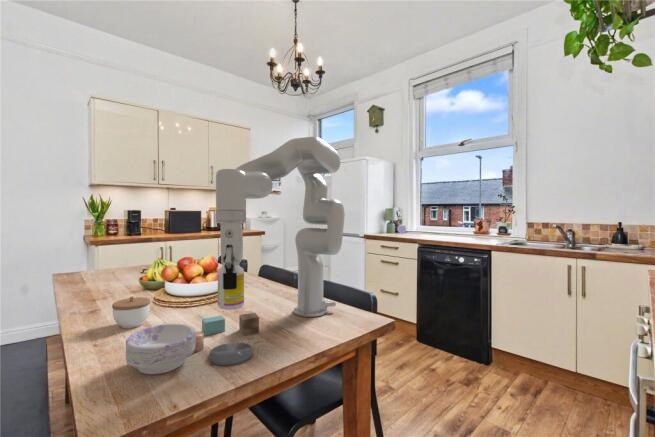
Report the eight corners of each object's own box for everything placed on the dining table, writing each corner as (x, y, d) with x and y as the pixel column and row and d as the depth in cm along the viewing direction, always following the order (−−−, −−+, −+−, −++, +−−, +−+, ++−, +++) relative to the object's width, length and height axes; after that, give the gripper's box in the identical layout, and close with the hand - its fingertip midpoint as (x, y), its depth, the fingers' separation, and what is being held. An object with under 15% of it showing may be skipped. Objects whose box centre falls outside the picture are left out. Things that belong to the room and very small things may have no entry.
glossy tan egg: (203, 344, 90) (203, 330, 90) (203, 351, 87) (203, 336, 86) (188, 346, 89) (188, 332, 89) (187, 353, 85) (187, 338, 85)
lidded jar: (145, 317, 113) (145, 290, 113) (154, 325, 105) (154, 297, 105) (109, 324, 105) (108, 296, 105) (116, 334, 98) (116, 303, 97)
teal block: (221, 327, 104) (221, 315, 104) (224, 331, 101) (224, 319, 101) (202, 331, 101) (202, 319, 101) (205, 335, 97) (205, 322, 97)
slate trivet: (253, 345, 91) (253, 340, 91) (252, 363, 80) (252, 359, 80) (212, 348, 88) (212, 344, 88) (206, 368, 78) (206, 363, 78)
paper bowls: (182, 380, 72) (182, 346, 72) (112, 383, 71) (111, 348, 70) (203, 350, 87) (203, 321, 87) (145, 352, 86) (145, 323, 86)
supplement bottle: (249, 305, 85) (249, 257, 84) (229, 312, 79) (229, 260, 79) (232, 301, 88) (232, 255, 88) (212, 307, 83) (212, 258, 82)
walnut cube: (254, 327, 104) (254, 312, 104) (259, 333, 99) (259, 317, 99) (239, 330, 102) (239, 314, 101) (242, 336, 97) (242, 319, 97)
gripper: (244, 218, 75) (244, 293, 76) (247, 216, 92) (247, 277, 93) (211, 218, 74) (211, 295, 74) (220, 216, 91) (220, 278, 91)
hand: (231, 284), depth 83 cm, fingers closed on supplement bottle, 6 cm apart
